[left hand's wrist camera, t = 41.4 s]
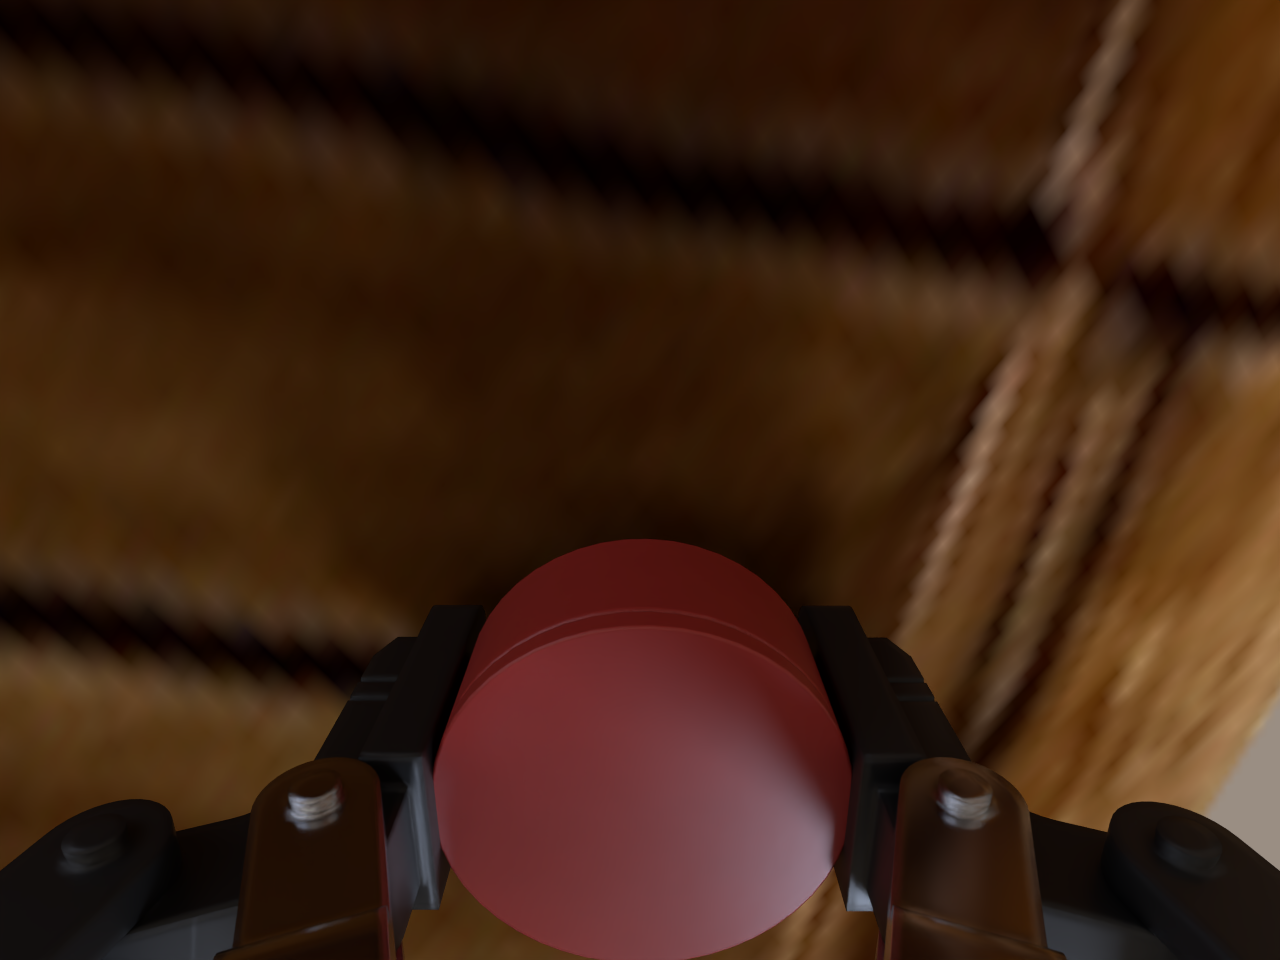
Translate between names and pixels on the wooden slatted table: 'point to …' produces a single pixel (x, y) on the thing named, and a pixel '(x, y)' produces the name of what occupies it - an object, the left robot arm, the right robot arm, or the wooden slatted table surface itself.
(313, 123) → the wooden slatted table surface
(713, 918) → the lid
